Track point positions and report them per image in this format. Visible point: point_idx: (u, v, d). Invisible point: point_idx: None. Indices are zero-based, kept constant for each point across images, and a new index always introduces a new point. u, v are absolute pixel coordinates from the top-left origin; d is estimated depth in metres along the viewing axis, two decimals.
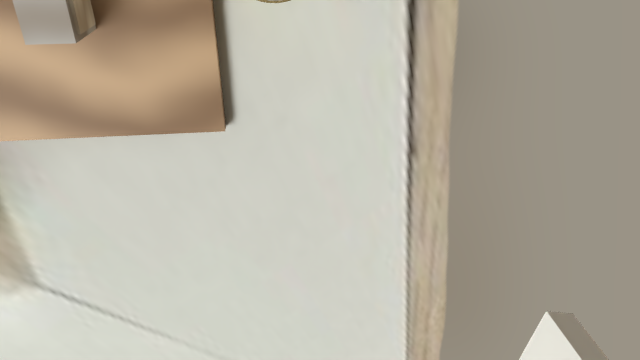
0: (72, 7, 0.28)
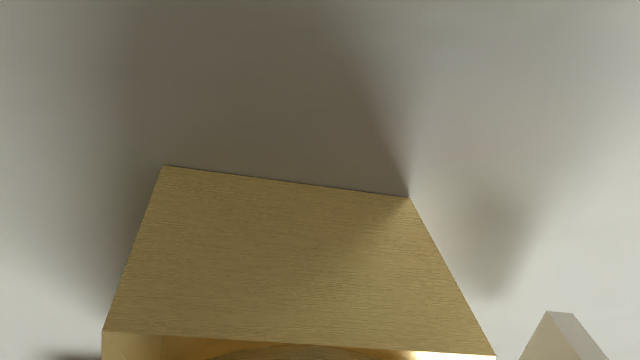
0: None
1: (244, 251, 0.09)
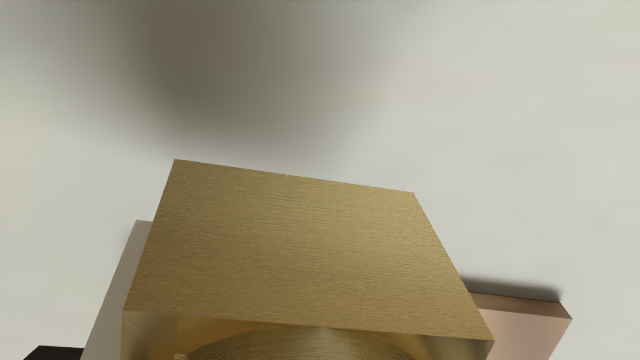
0: None
1: (254, 240, 0.09)
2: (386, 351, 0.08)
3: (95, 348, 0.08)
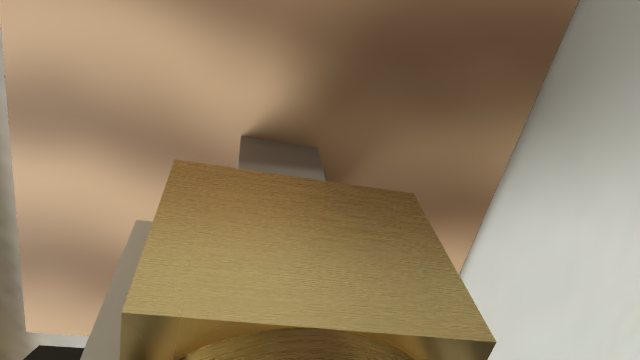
0: None
1: (254, 241, 0.09)
2: (386, 353, 0.08)
3: (95, 348, 0.08)
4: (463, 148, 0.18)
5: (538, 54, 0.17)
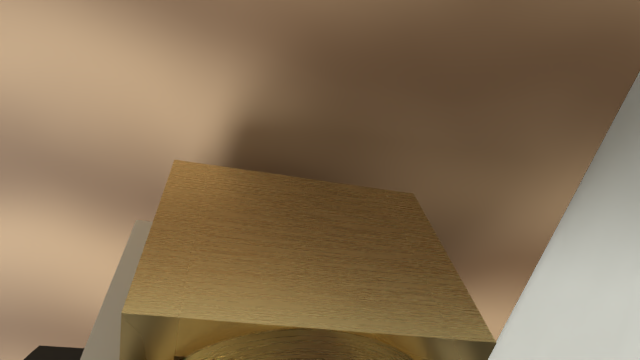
0: None
1: (254, 241, 0.09)
2: (386, 353, 0.08)
3: (95, 348, 0.08)
4: (512, 195, 0.15)
5: (612, 83, 0.14)
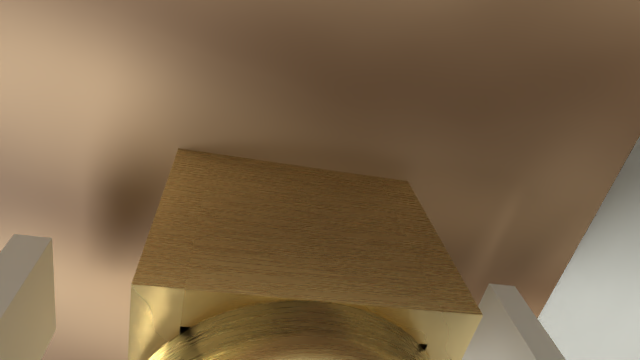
0: None
1: (254, 223, 0.10)
2: (379, 324, 0.08)
3: None
4: (527, 220, 0.14)
5: (636, 102, 0.13)
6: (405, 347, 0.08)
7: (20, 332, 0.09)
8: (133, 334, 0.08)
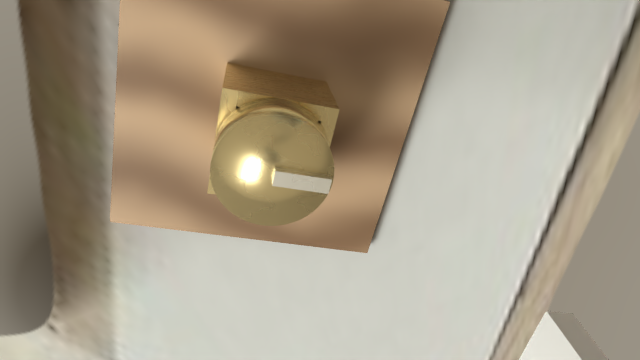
0: None
1: (260, 82, 0.26)
2: (302, 107, 0.24)
3: None
4: (384, 104, 0.30)
5: (425, 47, 0.29)
6: (310, 115, 0.24)
7: None
8: (220, 107, 0.24)
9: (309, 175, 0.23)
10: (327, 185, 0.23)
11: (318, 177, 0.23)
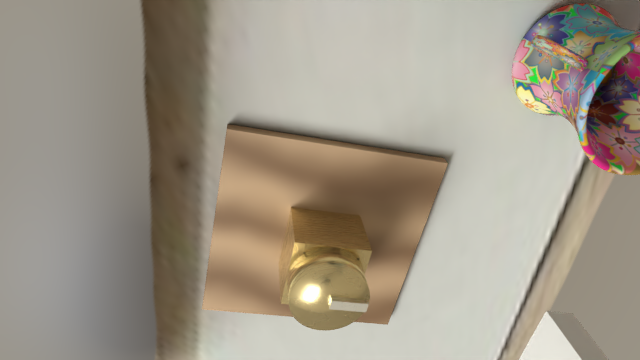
0: None
1: (317, 229, 0.38)
2: (347, 252, 0.36)
3: None
4: (401, 227, 0.42)
5: (430, 191, 0.41)
6: (353, 257, 0.36)
7: None
8: (293, 253, 0.36)
9: (353, 301, 0.35)
10: (365, 307, 0.35)
11: (359, 303, 0.35)
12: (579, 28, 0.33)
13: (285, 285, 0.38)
